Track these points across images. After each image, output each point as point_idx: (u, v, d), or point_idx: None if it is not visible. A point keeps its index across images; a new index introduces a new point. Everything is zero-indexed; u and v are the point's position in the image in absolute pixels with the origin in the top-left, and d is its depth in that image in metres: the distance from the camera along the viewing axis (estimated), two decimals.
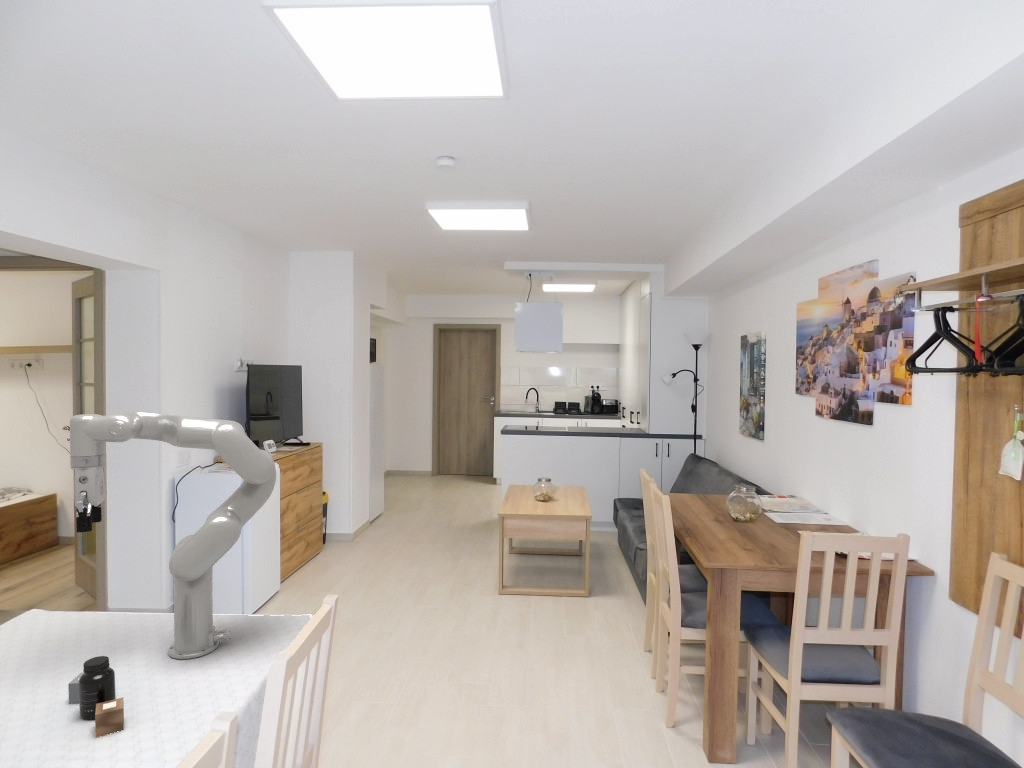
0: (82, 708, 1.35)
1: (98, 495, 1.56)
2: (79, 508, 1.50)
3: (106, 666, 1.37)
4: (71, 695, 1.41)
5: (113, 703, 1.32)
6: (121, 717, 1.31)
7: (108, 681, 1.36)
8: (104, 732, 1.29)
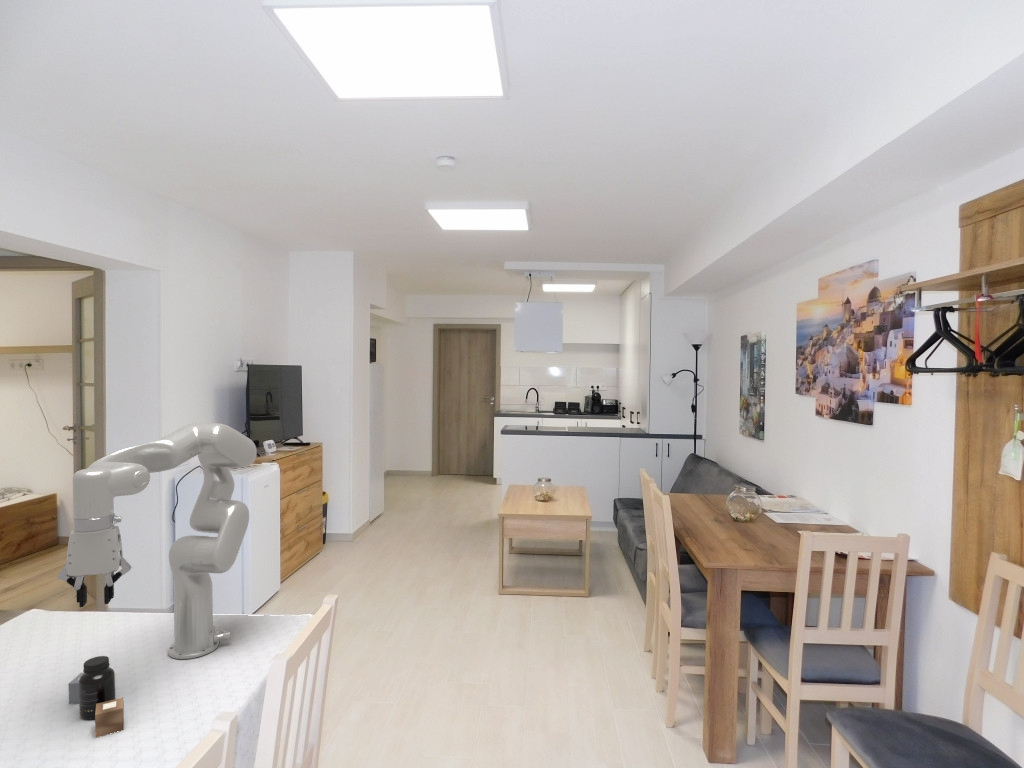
0: (82, 708, 1.35)
1: None
2: None
3: (106, 666, 1.37)
4: (71, 695, 1.41)
5: (113, 703, 1.32)
6: (121, 717, 1.31)
7: (108, 681, 1.36)
8: (104, 732, 1.29)
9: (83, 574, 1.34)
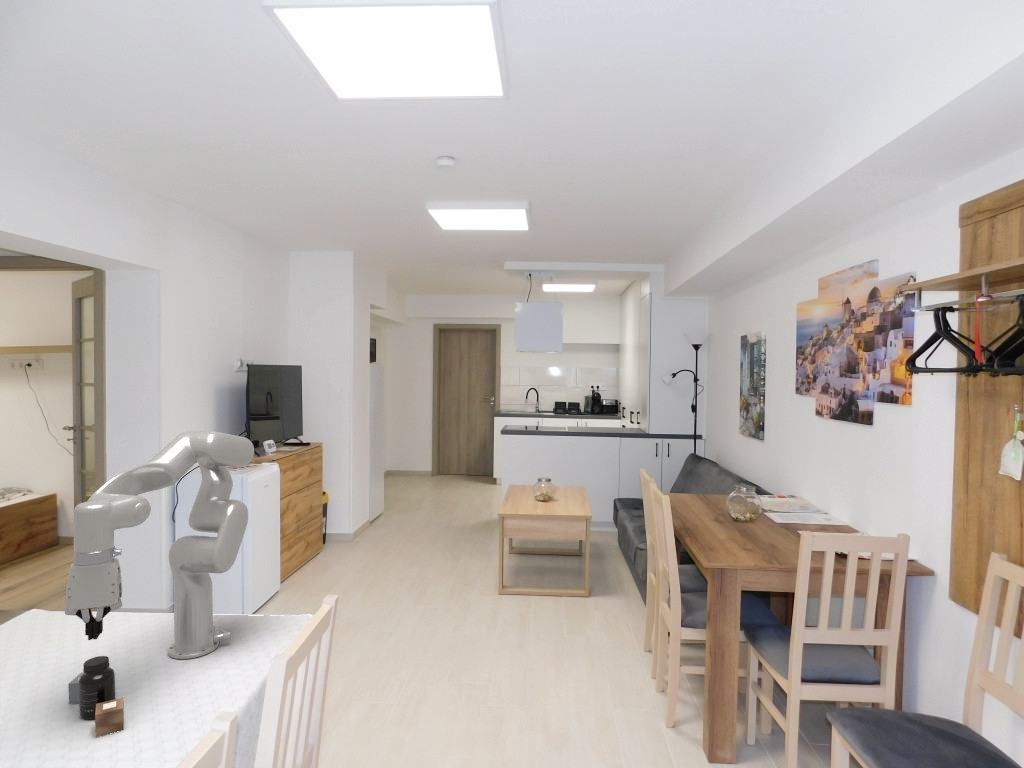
0: (81, 708, 1.35)
1: None
2: None
3: (106, 666, 1.37)
4: (71, 695, 1.41)
5: (113, 703, 1.32)
6: (121, 717, 1.31)
7: (108, 681, 1.36)
8: (104, 732, 1.29)
9: (82, 608, 1.34)
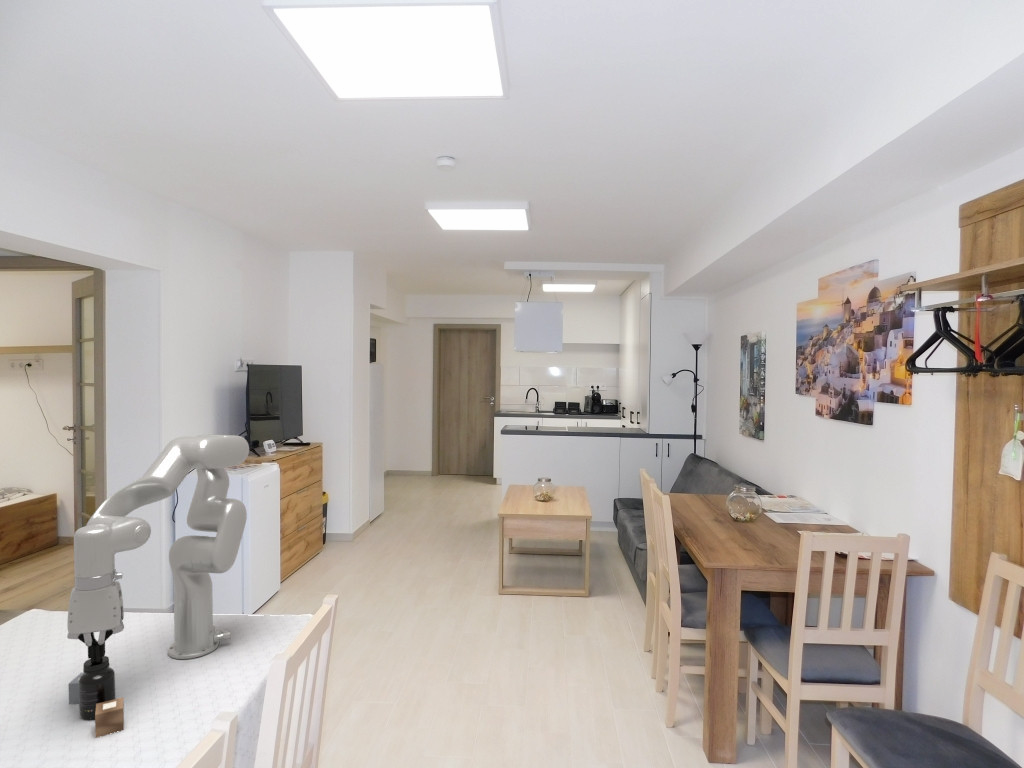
0: (81, 708, 1.35)
1: None
2: None
3: (106, 666, 1.37)
4: (71, 695, 1.41)
5: (113, 703, 1.32)
6: (121, 717, 1.31)
7: (108, 681, 1.36)
8: (104, 732, 1.29)
9: (84, 632, 1.35)
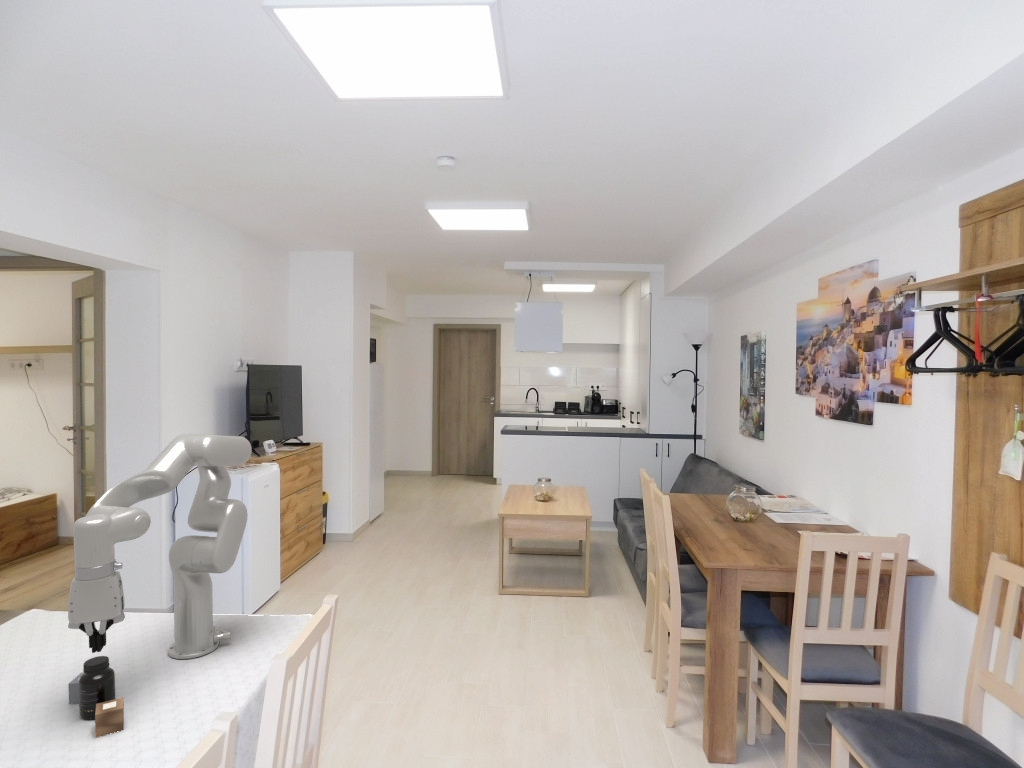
0: (81, 708, 1.35)
1: None
2: None
3: (106, 666, 1.37)
4: (71, 695, 1.41)
5: (113, 703, 1.32)
6: (121, 717, 1.31)
7: (108, 681, 1.36)
8: (104, 732, 1.29)
9: (85, 622, 1.35)
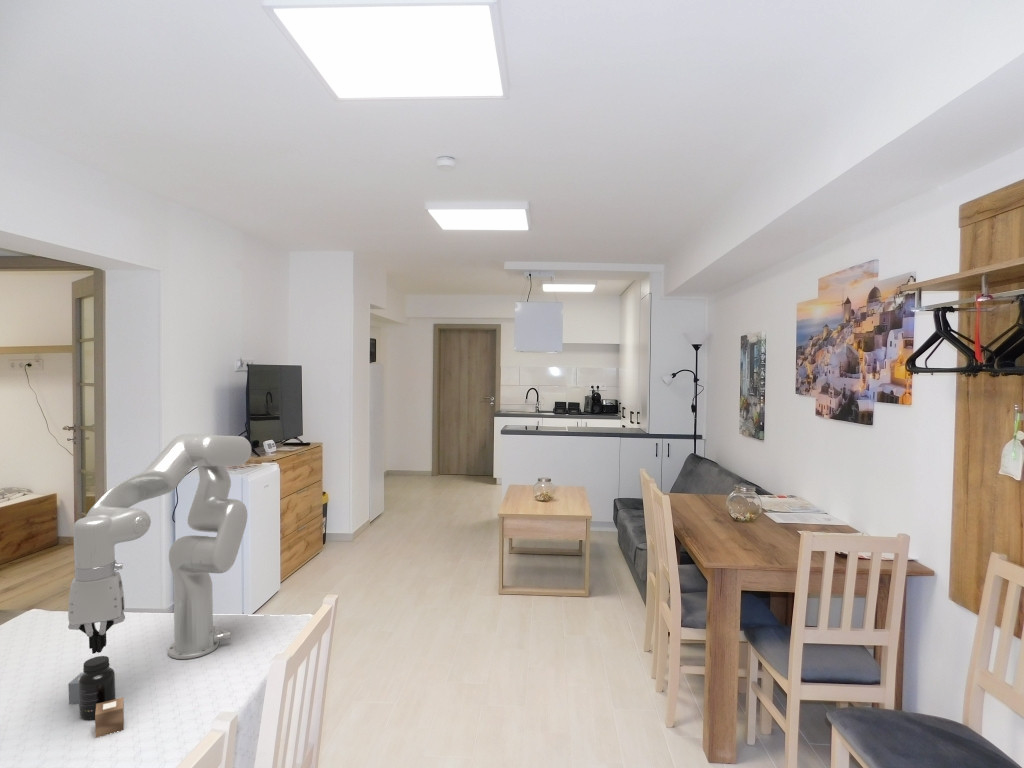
0: (81, 708, 1.35)
1: None
2: None
3: (106, 666, 1.37)
4: (71, 695, 1.41)
5: (113, 703, 1.32)
6: (121, 717, 1.31)
7: (108, 681, 1.36)
8: (104, 732, 1.29)
9: (85, 622, 1.35)
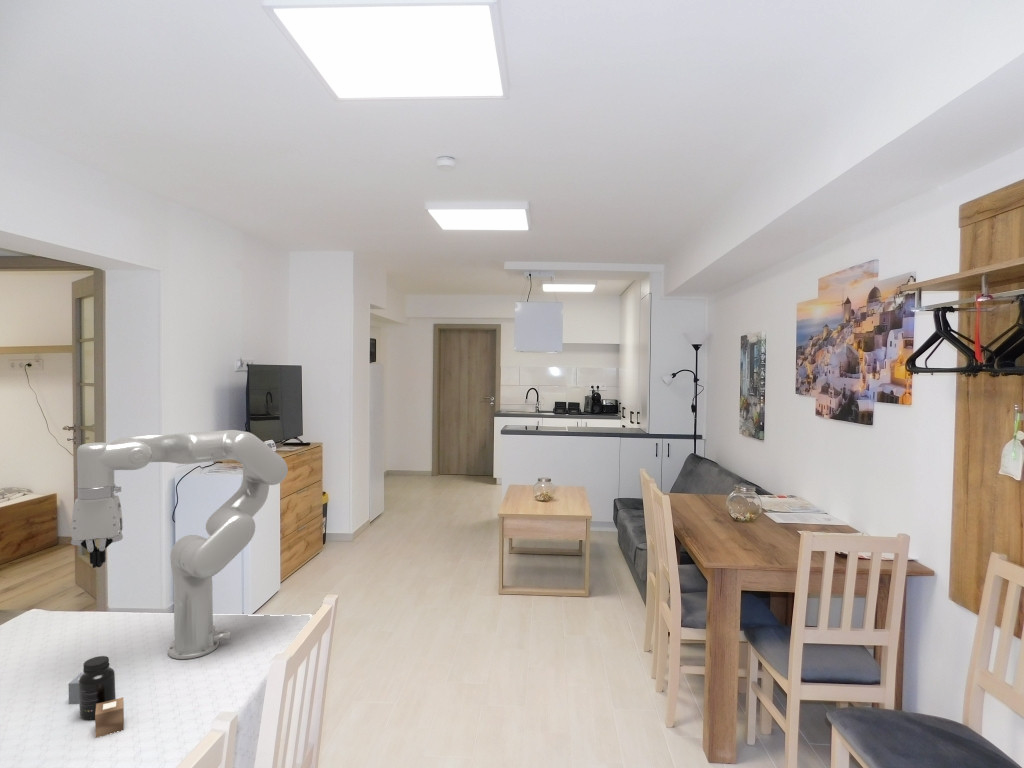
0: (81, 708, 1.35)
1: None
2: None
3: (106, 666, 1.37)
4: (71, 695, 1.41)
5: (113, 703, 1.32)
6: (121, 717, 1.31)
7: (108, 681, 1.36)
8: (104, 732, 1.29)
9: (86, 538, 1.48)
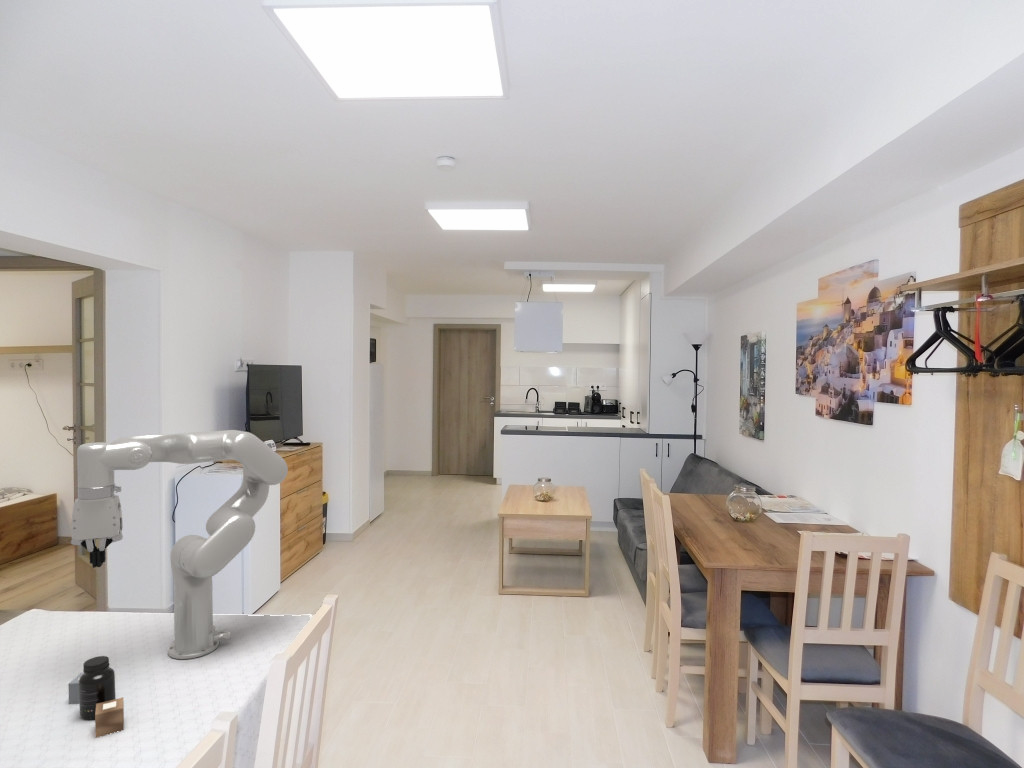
0: (81, 708, 1.35)
1: None
2: None
3: (106, 666, 1.37)
4: (71, 695, 1.41)
5: (113, 703, 1.32)
6: (121, 717, 1.31)
7: (108, 681, 1.36)
8: (104, 732, 1.29)
9: (86, 538, 1.48)
